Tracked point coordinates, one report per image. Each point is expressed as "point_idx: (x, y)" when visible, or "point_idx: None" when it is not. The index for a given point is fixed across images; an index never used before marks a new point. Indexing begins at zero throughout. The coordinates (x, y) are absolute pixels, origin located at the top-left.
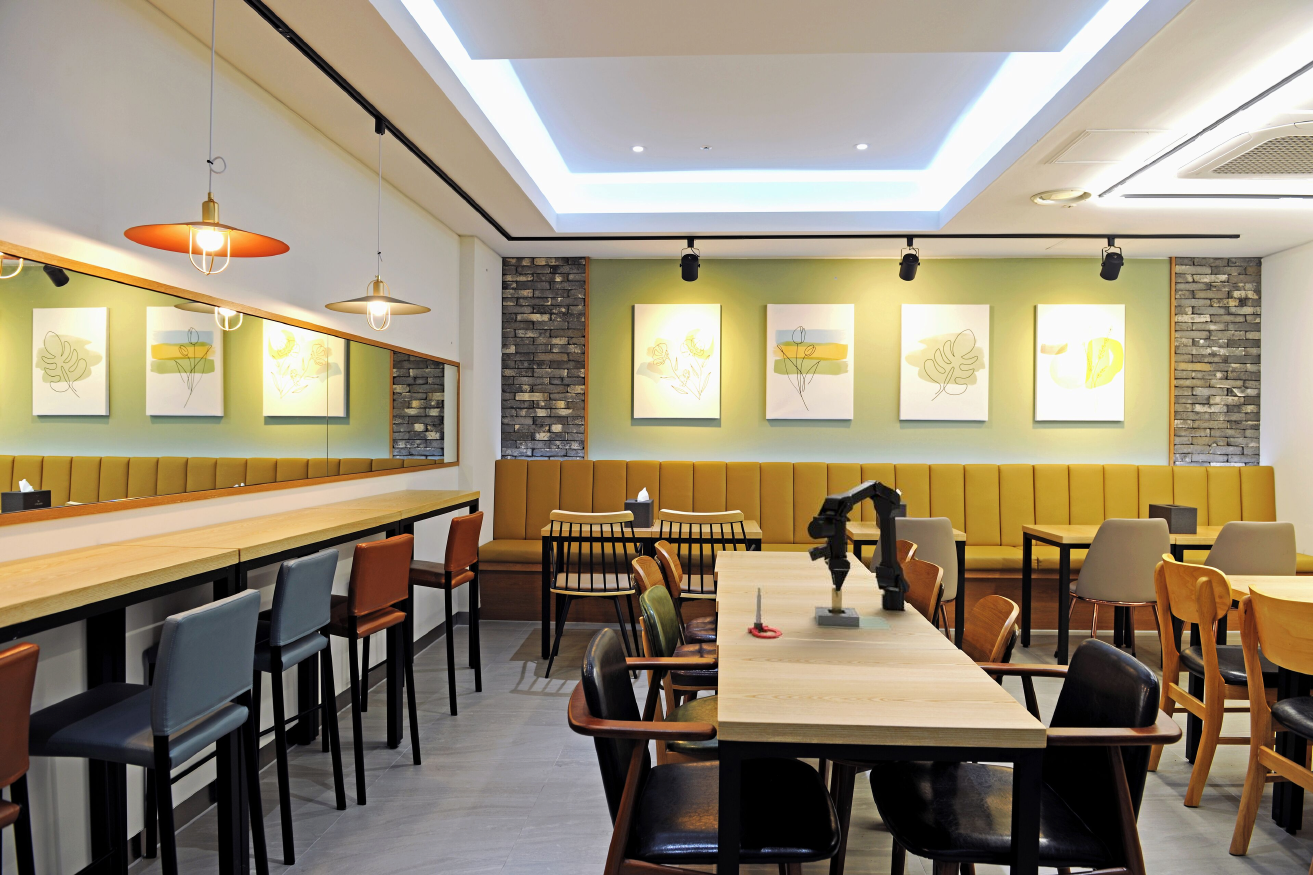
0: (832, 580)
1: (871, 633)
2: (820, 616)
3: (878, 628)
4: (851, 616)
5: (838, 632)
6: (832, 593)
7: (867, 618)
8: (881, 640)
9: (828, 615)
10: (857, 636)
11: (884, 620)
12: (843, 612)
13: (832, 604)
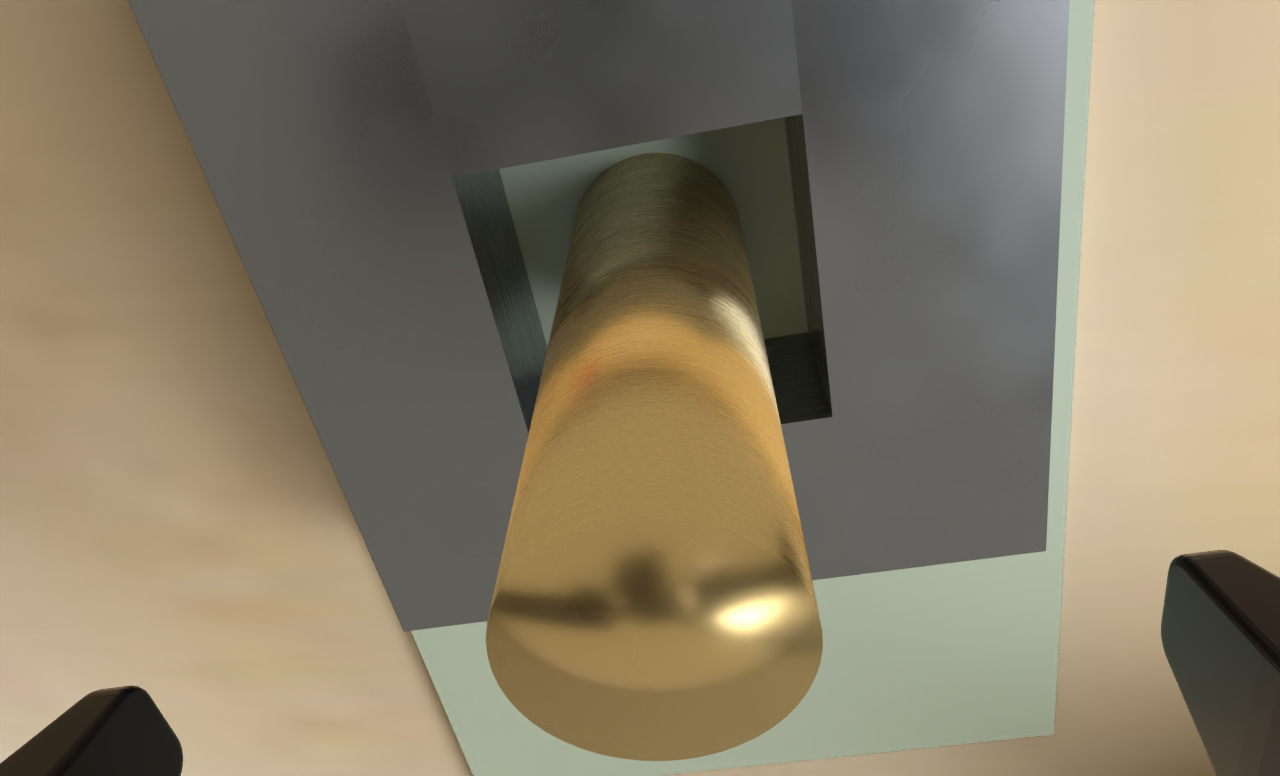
0: (1273, 668)
1: (267, 633)
2: (146, 17)
3: (470, 699)
4: (379, 539)
5: (64, 295)
6: (561, 449)
7: (964, 596)
8: (33, 711)
9: (238, 186)
10: (25, 514)
11: (893, 743)
12: (826, 382)
13: (587, 298)
